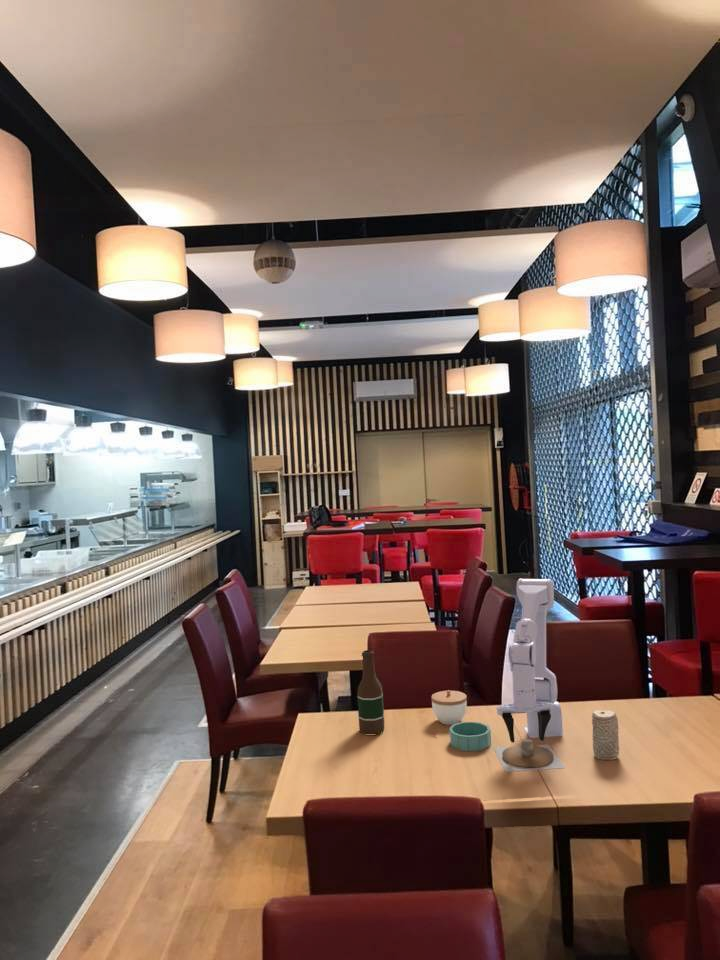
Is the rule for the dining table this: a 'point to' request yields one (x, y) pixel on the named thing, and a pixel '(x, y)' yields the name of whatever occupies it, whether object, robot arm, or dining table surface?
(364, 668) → the beer bottle
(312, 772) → the dining table surface
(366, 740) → the dining table surface
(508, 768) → the mat
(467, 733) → the bowl
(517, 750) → the lid
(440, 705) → the lidded jar
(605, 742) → the carving
